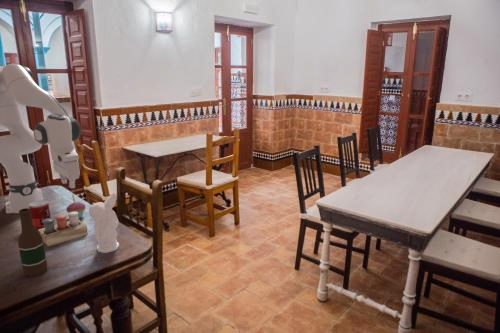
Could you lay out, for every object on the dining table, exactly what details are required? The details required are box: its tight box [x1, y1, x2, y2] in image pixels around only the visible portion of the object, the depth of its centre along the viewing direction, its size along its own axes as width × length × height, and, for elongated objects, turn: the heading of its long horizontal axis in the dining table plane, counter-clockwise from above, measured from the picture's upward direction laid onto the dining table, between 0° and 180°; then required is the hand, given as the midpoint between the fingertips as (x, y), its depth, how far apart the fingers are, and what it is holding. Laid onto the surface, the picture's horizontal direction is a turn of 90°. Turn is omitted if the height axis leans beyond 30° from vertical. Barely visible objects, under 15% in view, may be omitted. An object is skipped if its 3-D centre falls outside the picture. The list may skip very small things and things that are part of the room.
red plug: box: [54, 214, 67, 231], centre depth 155 cm, size 4×4×6 cm
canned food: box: [29, 199, 52, 229], centre depth 166 cm, size 8×8×11 cm
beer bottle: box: [17, 208, 48, 278], centre depth 127 cm, size 8×8×24 cm
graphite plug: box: [42, 217, 55, 234], centre depth 152 cm, size 4×4×6 cm
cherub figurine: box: [88, 193, 120, 254], centre depth 145 cm, size 12×12×22 cm
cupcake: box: [66, 192, 87, 219], centre depth 175 cm, size 9×8×12 cm
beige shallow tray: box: [37, 219, 89, 248], centre depth 156 cm, size 11×16×4 cm
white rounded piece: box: [67, 212, 80, 227], centre depth 158 cm, size 4×4×6 cm
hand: (68, 185), depth 154 cm, fingers open, 8 cm apart
